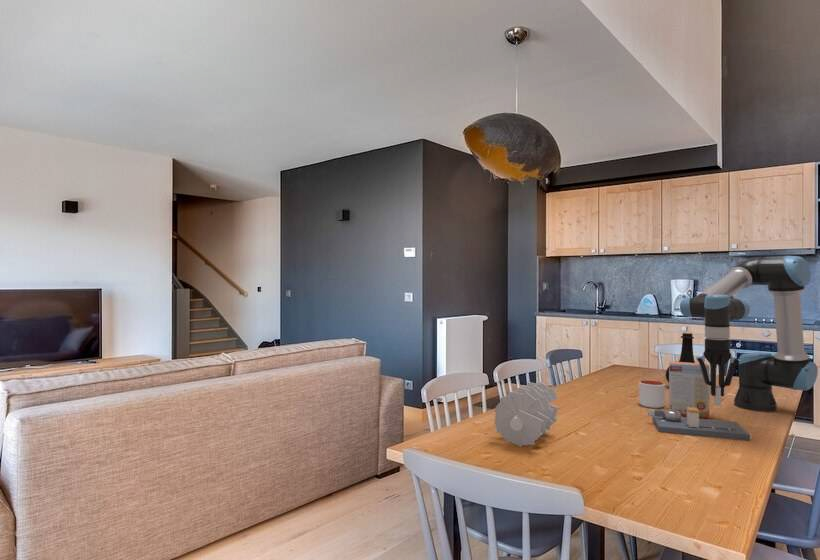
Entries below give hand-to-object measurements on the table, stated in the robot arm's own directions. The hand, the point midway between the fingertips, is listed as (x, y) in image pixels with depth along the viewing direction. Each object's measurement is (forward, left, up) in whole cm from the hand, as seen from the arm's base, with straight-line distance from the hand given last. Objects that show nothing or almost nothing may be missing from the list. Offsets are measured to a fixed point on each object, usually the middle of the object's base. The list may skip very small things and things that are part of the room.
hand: (717, 404), depth 176 cm
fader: (+8, 0, -8) cm, 11 cm away
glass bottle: (-5, -77, -10) cm, 78 cm away
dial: (+16, -6, -8) cm, 19 cm away
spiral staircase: (+63, +28, -10) cm, 70 cm away
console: (+5, -3, -10) cm, 12 cm away
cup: (+16, -35, -10) cm, 40 cm away
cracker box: (+4, -24, -10) cm, 27 cm away
